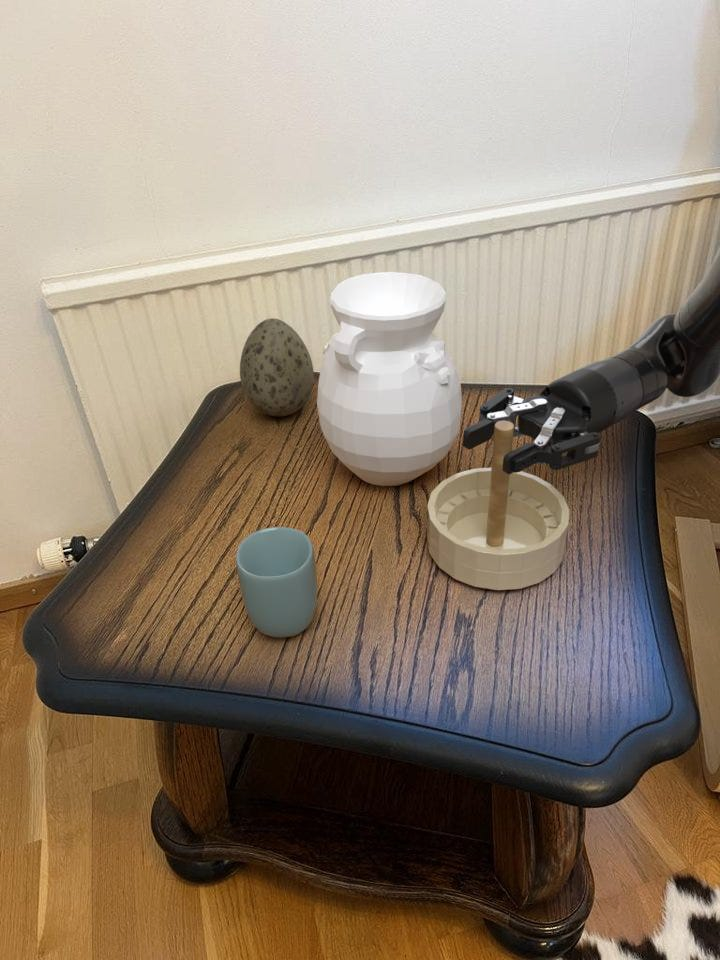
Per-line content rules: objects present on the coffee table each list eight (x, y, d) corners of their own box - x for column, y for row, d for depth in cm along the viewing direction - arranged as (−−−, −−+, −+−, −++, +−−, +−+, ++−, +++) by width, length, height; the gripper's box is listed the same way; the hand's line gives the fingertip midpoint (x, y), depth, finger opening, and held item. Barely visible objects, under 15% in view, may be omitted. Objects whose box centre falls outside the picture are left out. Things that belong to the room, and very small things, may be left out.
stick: (506, 539, 89) (517, 423, 79) (498, 549, 87) (509, 432, 78) (490, 534, 90) (499, 418, 80) (483, 543, 88) (491, 427, 79)
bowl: (582, 532, 90) (589, 492, 87) (530, 614, 80) (535, 573, 76) (464, 492, 97) (466, 453, 94) (403, 563, 87) (402, 523, 84)
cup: (323, 595, 84) (316, 525, 78) (318, 649, 77) (310, 578, 71) (253, 595, 84) (241, 526, 78) (242, 650, 78) (228, 579, 72)
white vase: (402, 528, 92) (401, 340, 77) (294, 474, 102) (274, 299, 87) (486, 458, 103) (499, 282, 89) (381, 416, 113) (377, 251, 99)
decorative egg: (294, 387, 122) (285, 298, 113) (330, 415, 114) (323, 323, 105) (234, 408, 117) (219, 318, 108) (266, 439, 110) (253, 344, 101)
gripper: (547, 348, 89) (439, 395, 81) (651, 394, 80) (540, 453, 72) (541, 403, 94) (438, 453, 86) (639, 453, 84) (533, 514, 76)
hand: (485, 452), depth 79 cm, fingers open, 5 cm apart
